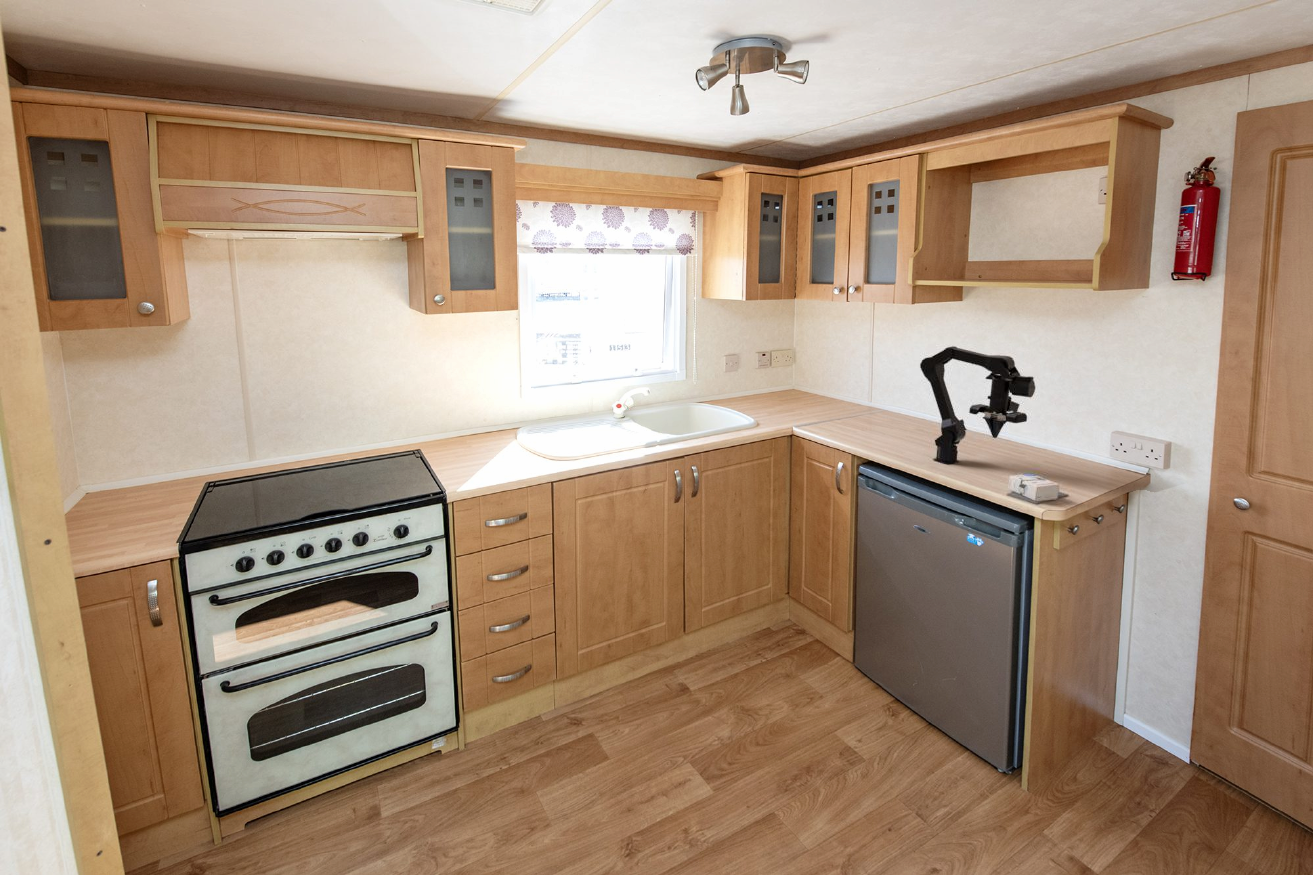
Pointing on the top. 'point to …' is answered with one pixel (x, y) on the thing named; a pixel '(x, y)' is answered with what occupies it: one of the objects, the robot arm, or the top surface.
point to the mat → (1031, 499)
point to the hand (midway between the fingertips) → (994, 437)
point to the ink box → (1033, 487)
